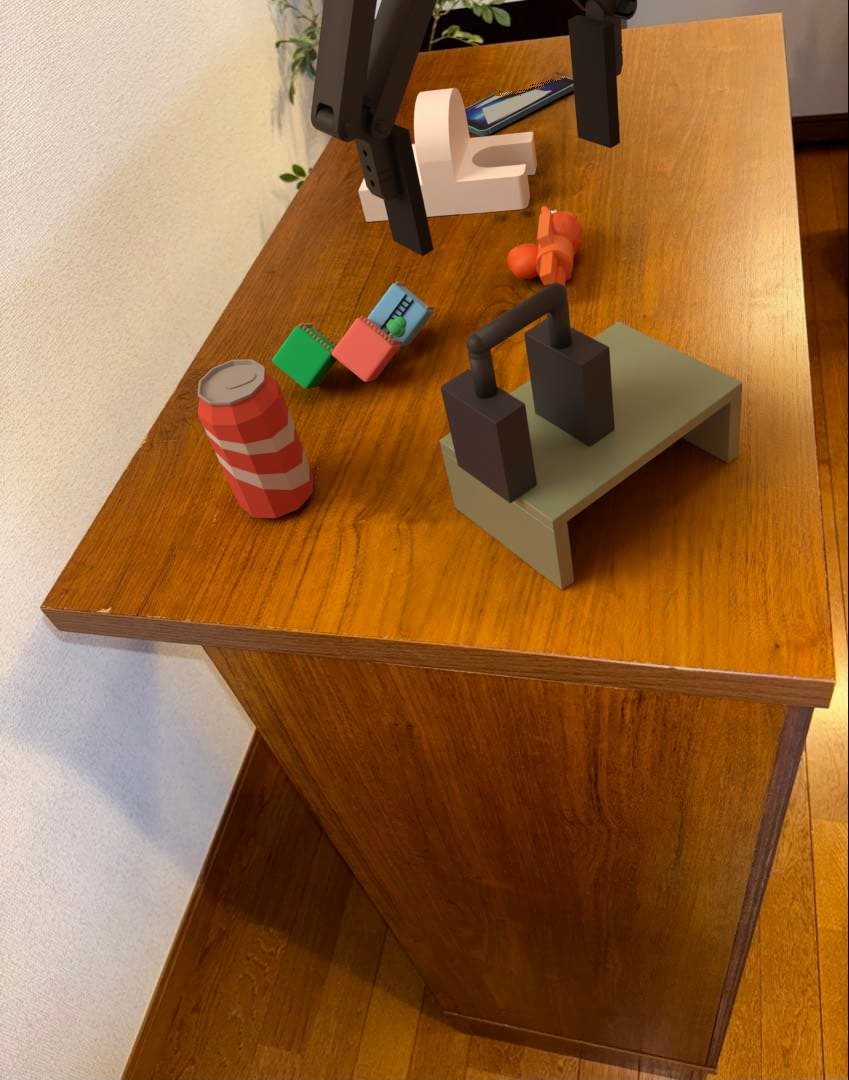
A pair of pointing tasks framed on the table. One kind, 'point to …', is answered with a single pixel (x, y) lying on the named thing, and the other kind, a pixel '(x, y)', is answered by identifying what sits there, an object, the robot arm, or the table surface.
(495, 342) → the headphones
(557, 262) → the orange toy bird
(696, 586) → the table surface
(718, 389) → the shelf
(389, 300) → the building blocks
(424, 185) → the white thick notched block
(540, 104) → the smartphone
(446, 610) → the table surface
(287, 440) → the beverage can
